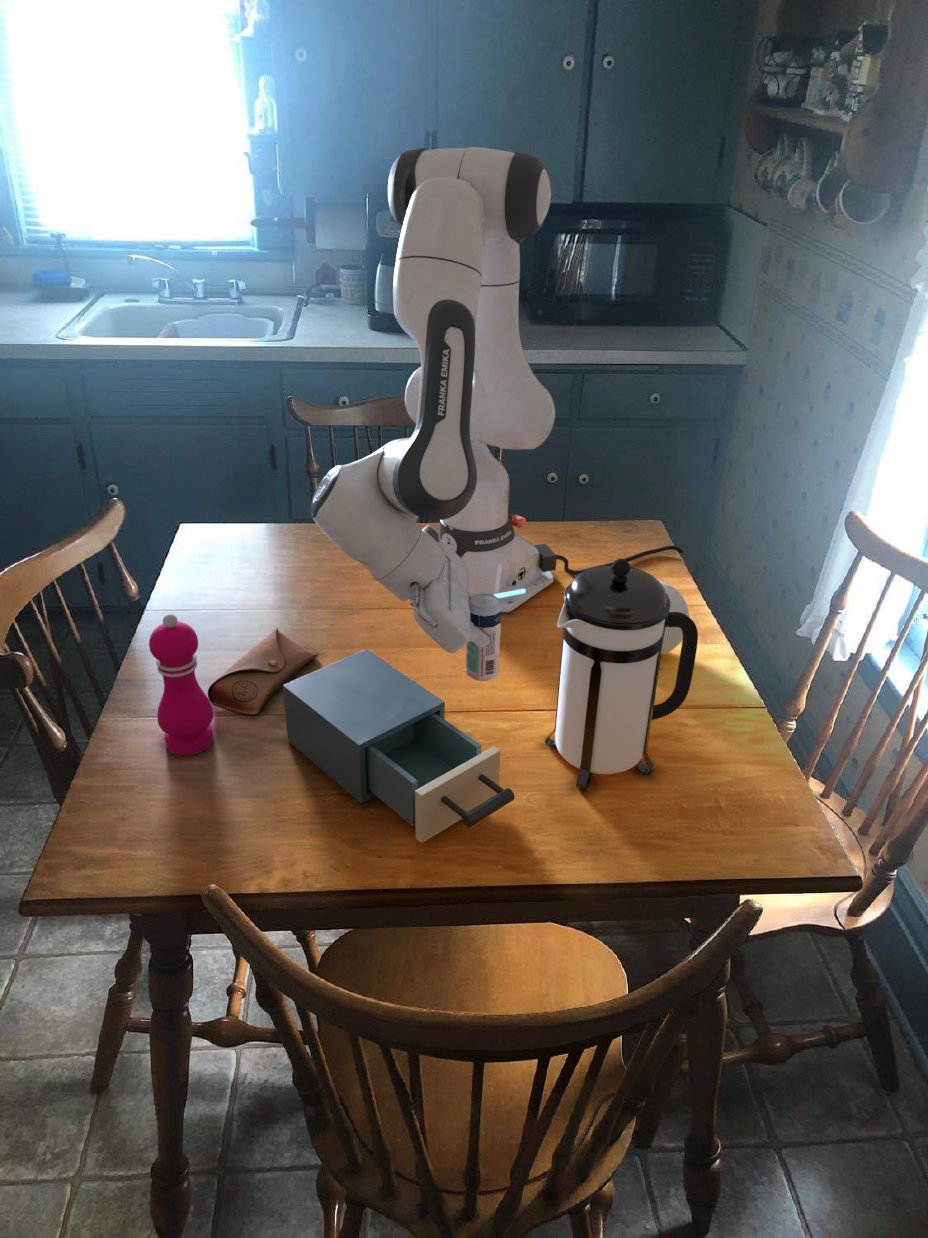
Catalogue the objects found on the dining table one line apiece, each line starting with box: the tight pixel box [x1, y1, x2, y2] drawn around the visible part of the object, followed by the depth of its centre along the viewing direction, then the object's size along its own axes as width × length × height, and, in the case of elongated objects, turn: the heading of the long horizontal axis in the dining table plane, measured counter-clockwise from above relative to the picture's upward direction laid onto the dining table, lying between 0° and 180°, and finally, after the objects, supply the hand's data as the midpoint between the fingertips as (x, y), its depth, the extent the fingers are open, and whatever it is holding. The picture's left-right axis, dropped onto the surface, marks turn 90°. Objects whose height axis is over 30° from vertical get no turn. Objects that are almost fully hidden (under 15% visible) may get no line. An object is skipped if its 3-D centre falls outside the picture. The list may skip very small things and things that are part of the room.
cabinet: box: [282, 648, 446, 805], centre depth 126 cm, size 17×14×9 cm
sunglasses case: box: [207, 627, 319, 716], centre depth 141 cm, size 18×7×7 cm
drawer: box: [365, 713, 516, 844], centre depth 117 cm, size 21×13×7 cm, turn 42°
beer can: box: [465, 593, 502, 682], centre depth 130 cm, size 5×5×12 cm
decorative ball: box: [658, 580, 690, 656], centre depth 148 cm, size 12×12×12 cm
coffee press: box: [544, 558, 699, 791], centre depth 121 cm, size 17×16×30 cm
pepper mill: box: [148, 613, 215, 756], centre depth 124 cm, size 7×7×20 cm
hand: (485, 630), depth 130 cm, fingers closed on beer can, 5 cm apart
